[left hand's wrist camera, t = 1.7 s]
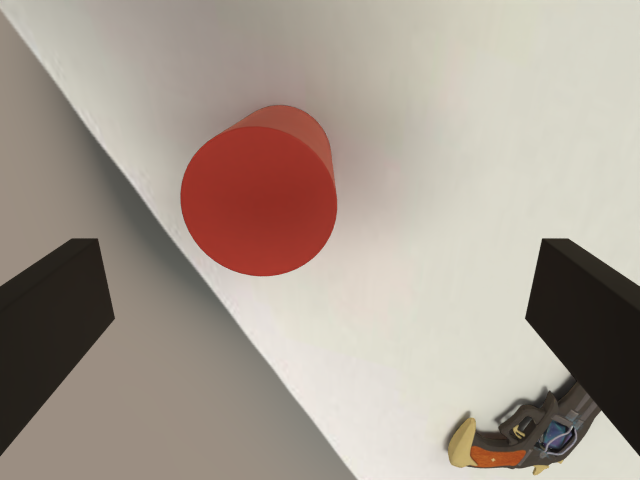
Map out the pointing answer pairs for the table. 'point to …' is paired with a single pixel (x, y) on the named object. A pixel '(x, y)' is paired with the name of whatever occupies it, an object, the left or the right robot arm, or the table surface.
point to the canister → (262, 193)
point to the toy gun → (528, 435)
